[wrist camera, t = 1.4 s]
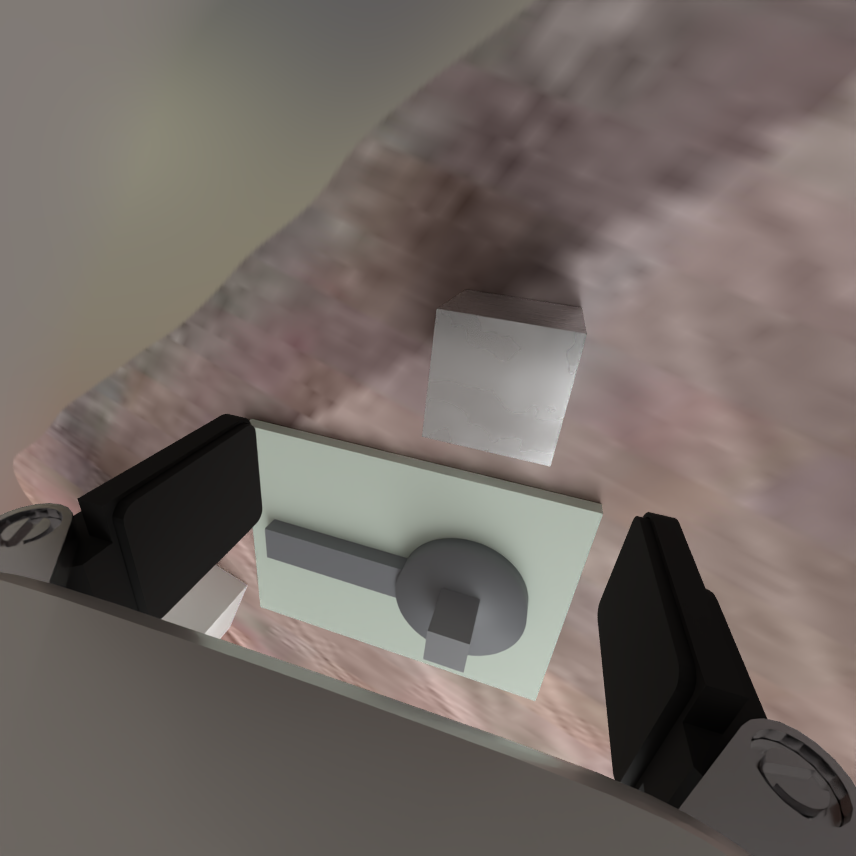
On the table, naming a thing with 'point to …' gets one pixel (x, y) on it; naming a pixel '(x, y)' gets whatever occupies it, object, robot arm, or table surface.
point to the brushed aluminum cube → (502, 373)
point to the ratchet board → (403, 525)
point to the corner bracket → (209, 604)
